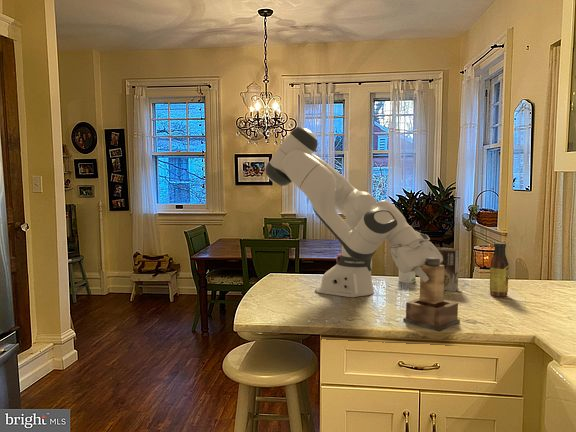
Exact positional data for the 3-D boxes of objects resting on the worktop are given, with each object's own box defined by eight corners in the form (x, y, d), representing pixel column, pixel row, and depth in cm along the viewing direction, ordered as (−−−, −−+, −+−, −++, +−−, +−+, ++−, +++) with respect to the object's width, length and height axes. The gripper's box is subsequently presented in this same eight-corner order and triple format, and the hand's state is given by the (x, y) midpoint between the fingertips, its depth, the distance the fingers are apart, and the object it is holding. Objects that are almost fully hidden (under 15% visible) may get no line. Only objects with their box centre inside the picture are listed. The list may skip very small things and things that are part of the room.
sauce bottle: (509, 297, 164) (512, 244, 162) (491, 297, 165) (493, 244, 163) (504, 293, 170) (507, 242, 168) (487, 292, 171) (489, 241, 170)
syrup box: (411, 283, 185) (412, 249, 184) (397, 282, 188) (398, 248, 187) (415, 281, 190) (416, 247, 189) (402, 279, 193) (402, 246, 192)
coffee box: (458, 288, 177) (459, 248, 176) (454, 292, 172) (456, 250, 171) (435, 285, 182) (436, 246, 181) (430, 288, 177) (432, 248, 175)
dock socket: (403, 321, 136) (403, 302, 136) (424, 313, 144) (424, 295, 144) (439, 331, 127) (440, 310, 127) (459, 322, 136) (460, 303, 135)
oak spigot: (419, 300, 135) (420, 258, 134) (428, 297, 139) (429, 256, 138) (434, 304, 132) (436, 260, 131) (443, 301, 135) (444, 258, 134)
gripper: (393, 239, 132) (421, 277, 125) (430, 234, 146) (457, 268, 139) (380, 252, 136) (407, 290, 129) (417, 246, 149) (443, 280, 143)
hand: (433, 279), depth 134 cm, fingers closed on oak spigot, 5 cm apart
